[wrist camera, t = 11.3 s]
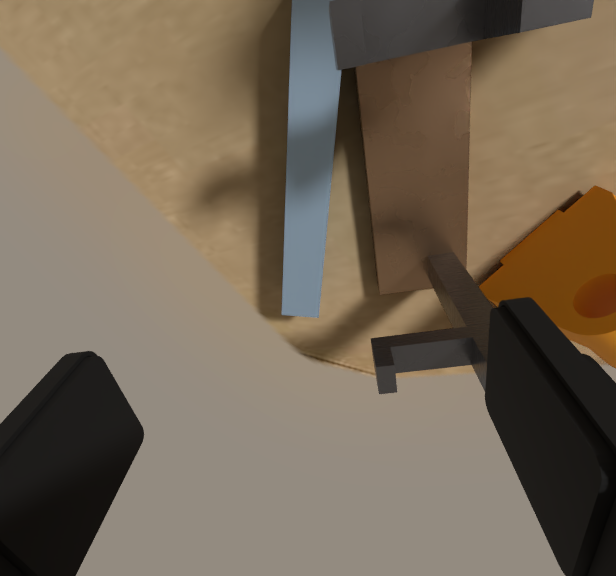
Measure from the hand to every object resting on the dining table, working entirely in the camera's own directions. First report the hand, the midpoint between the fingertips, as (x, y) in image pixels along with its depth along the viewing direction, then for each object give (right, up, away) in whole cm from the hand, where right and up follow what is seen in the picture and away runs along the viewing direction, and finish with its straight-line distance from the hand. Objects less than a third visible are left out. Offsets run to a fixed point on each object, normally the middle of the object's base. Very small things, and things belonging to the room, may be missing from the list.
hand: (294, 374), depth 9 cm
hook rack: (+7, +11, +19) cm, 23 cm away
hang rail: (+1, +11, +19) cm, 23 cm away
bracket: (+21, +4, +23) cm, 31 cm away
